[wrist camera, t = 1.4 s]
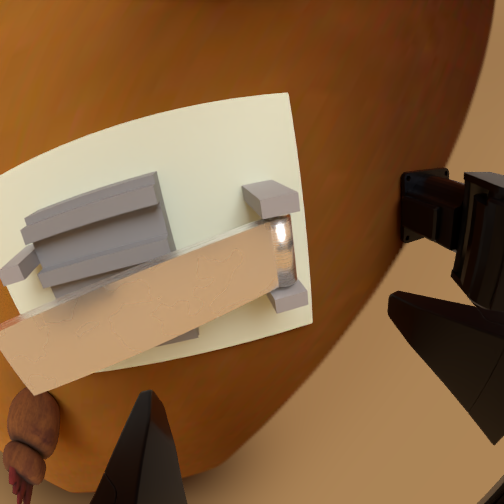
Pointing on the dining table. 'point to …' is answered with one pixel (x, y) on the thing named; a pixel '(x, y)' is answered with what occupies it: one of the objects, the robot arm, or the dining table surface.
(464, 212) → the robot arm
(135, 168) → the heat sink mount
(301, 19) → the dining table surface
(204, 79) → the dining table surface
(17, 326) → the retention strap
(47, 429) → the wooden figurine
